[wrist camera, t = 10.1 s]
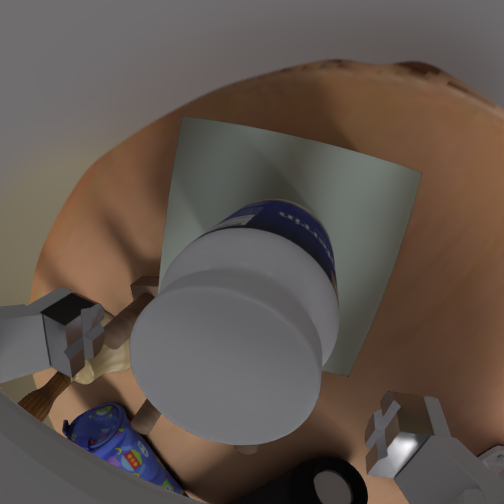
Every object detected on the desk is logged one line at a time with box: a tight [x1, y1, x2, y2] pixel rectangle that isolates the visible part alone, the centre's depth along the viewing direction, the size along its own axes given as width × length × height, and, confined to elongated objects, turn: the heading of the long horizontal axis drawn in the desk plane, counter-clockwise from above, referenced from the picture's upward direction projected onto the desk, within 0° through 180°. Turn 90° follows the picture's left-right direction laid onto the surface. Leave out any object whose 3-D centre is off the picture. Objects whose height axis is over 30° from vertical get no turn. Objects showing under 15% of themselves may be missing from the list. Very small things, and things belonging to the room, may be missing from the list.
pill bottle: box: [129, 199, 339, 445], centre depth 12 cm, size 6×6×10 cm
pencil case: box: [62, 402, 190, 498], centre depth 33 cm, size 22×9×10 cm, turn 19°
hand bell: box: [18, 311, 131, 422], centre depth 24 cm, size 8×8×16 cm
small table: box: [158, 116, 422, 377], centre depth 20 cm, size 12×12×8 cm
